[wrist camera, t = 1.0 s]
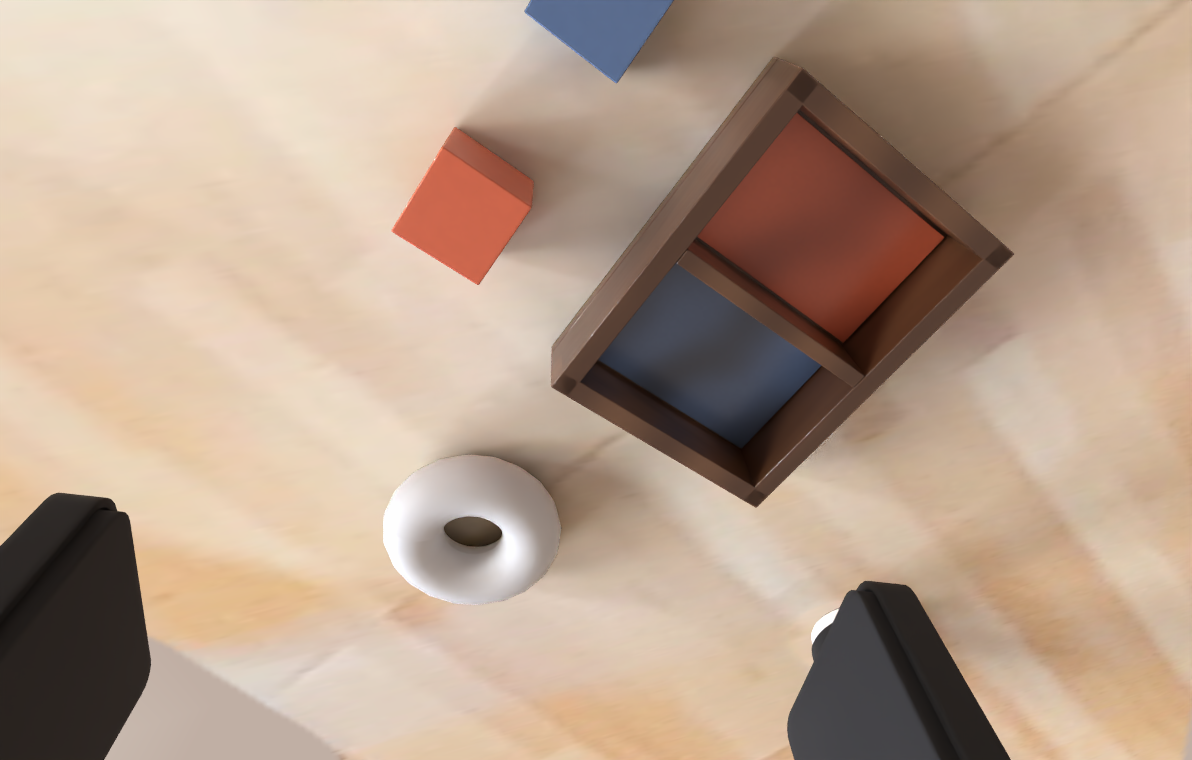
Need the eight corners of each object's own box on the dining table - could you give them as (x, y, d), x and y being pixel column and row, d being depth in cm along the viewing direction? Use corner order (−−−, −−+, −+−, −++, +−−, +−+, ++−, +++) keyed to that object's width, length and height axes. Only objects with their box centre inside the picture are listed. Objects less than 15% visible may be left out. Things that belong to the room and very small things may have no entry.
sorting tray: (551, 346, 38) (550, 387, 34) (773, 55, 32) (802, 67, 28) (738, 461, 42) (756, 508, 38) (967, 224, 36) (1015, 254, 32)
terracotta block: (408, 203, 34) (390, 231, 30) (454, 126, 32) (442, 146, 29) (486, 253, 35) (478, 286, 32) (534, 181, 34) (532, 207, 30)
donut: (564, 570, 46) (557, 438, 41) (564, 613, 43) (558, 477, 38) (402, 577, 45) (375, 445, 40) (392, 622, 42) (361, 485, 37)
